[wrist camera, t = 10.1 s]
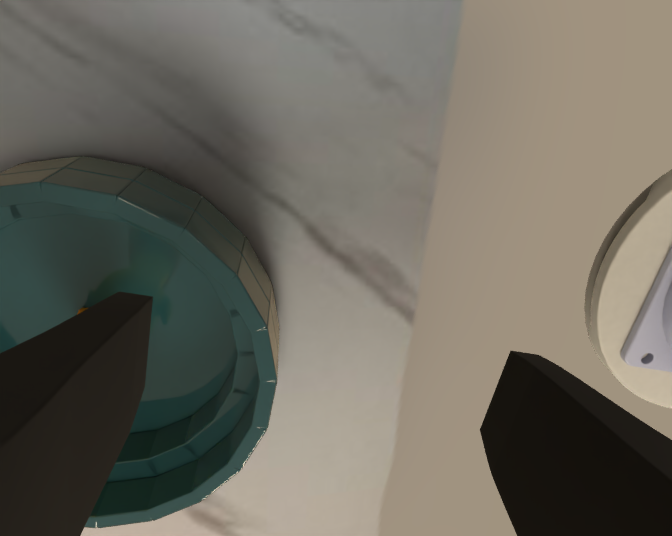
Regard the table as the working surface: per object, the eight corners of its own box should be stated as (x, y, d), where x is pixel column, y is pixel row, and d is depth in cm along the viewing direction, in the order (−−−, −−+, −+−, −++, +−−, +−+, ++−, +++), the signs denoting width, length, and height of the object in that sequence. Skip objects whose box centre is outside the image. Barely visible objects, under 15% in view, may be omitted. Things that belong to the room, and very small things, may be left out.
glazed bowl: (305, 192, 20) (308, 229, 16) (252, 467, 25) (244, 542, 21) (-86, 120, 18) (-182, 142, 14) (-60, 433, 23) (-126, 509, 19)
